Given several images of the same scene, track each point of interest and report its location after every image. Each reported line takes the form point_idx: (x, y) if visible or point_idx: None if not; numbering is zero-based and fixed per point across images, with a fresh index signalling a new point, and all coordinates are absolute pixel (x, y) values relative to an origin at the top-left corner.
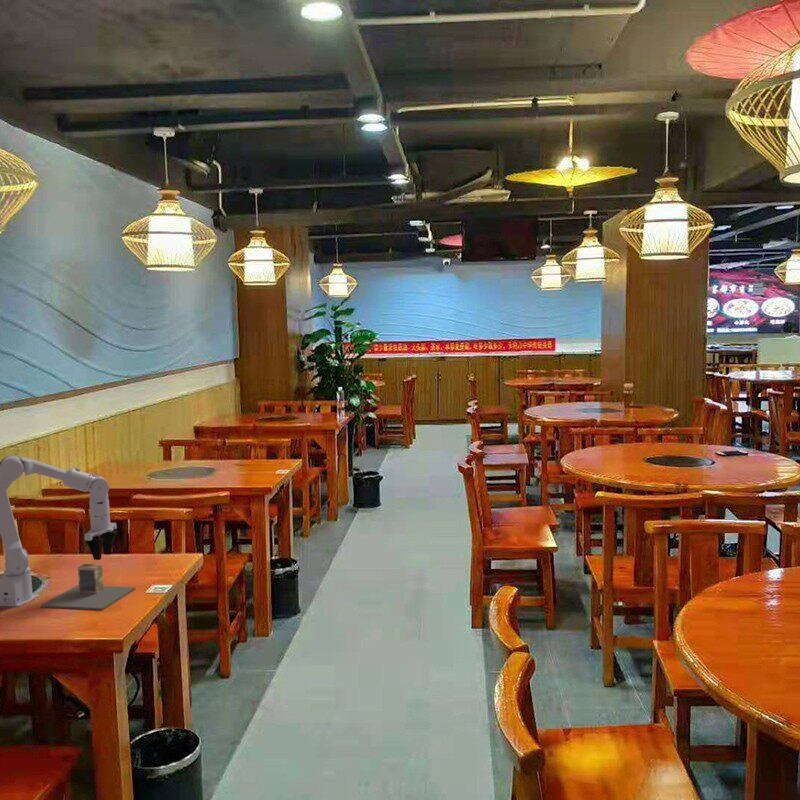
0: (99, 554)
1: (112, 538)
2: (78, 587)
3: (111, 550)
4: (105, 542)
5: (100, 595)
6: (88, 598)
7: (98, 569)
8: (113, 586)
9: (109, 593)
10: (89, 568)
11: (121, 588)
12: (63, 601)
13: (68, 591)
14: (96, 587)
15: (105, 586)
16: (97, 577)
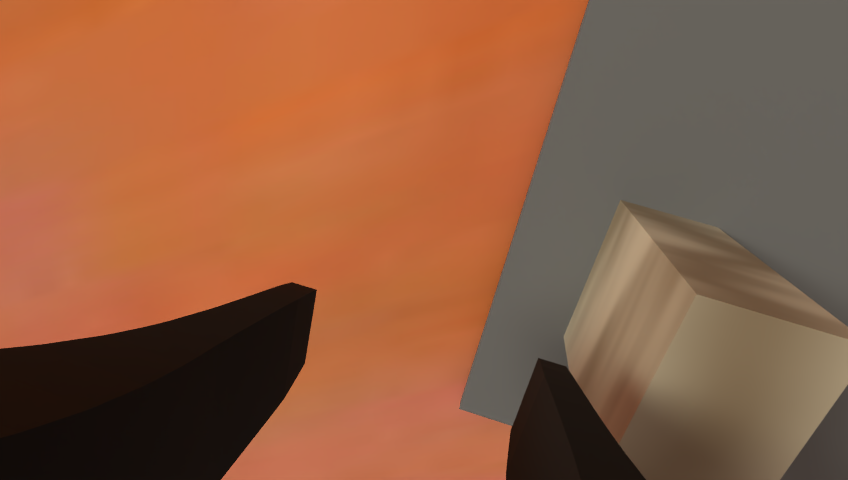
0: (598, 422)
1: (124, 395)
2: (514, 394)
3: (267, 294)
4: (194, 469)
5: (790, 181)
6: (844, 262)
7: (772, 302)
8: (546, 139)
9: (755, 113)
10: (811, 417)
11: (624, 42)
12: (845, 426)
13: None
14: (739, 246)
15: (532, 208)
16: (757, 273)
